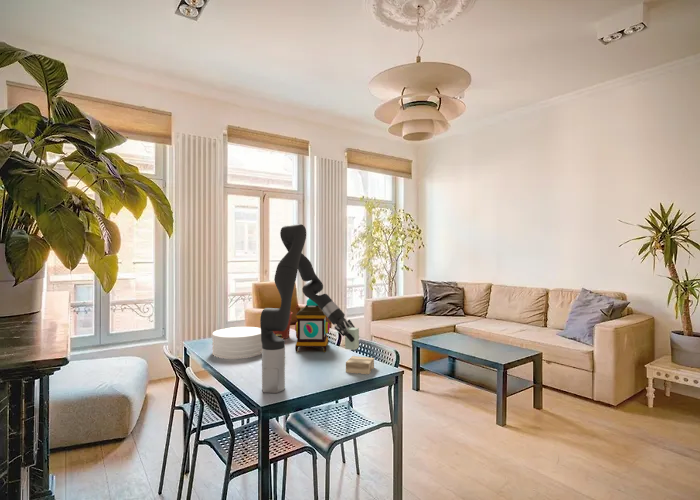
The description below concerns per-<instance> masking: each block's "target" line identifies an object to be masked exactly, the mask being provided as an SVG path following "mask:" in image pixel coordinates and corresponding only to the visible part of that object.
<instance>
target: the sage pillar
mask: <svg viewBox="0 0 700 500" xmlns="http://www.w3.org/2000/svg"><path fill="white" fill-rule="evenodd" d="M347 330H348V331H349V333H350V334H351V335H352V336H353V338H354V339H355V340H354V341H353V342H351V341H350V340H349V339H348V338H347V337H346V336H344V343H345V344H344V349H345V350H352V351H353V350H354V351H356V350H357V349H359V347H360V344H359V343H360V328H359V327H355V328H353V327H348V329H347Z"/></svg>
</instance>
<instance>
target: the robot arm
mask: <svg viewBox="0 0 700 500" xmlns="http://www.w3.org/2000/svg"><path fill="white" fill-rule="evenodd" d="M279 235H280V240H281V242H282V244H283V246H284V247H285V250H286V251H287V253H286V254H285V255H284V256H283V257H282V258H281V259H280V261H279V262H278V264H277V266H276V269H275V274H274V280H273V281H274V285H275V287H276V288H277V291H278V293H279V295H280V300H281V301H280V307H279V308H276V307H275V308H273V307H265V308H264V309H262V311H261V312H260V313H261V314H260V317H259V318H260V319H259V320H260V321H259V322H260V323H259V325H260V328H261V342H262V354H261V390H262V393H271V394H278V393H280V392H282V391H284V390H285V387H286V383H285V382H286V377H285V376H286V375H285V374H286V373H285V371H286V370H285V369H286V341H285V339H284V338H283V339H282V338H280V337H278V336H276V335H275V334H274V333H273V331H285V330H286V328H287V326H288V322H289V316H290V312H291V307H292V300H293V299H292V298H293V294H294V290H295V289H294V288H295V285H296V280H297V276H298V273H299V276H300V278H301V280H302V281H304V282H307V283H306V284H304V285H303V286H302V289H301V290H302V293H303V294H304V296H305V297H306V298H307V299H311V300H312V301H314V302H315V303H316V304H317V305H318V306H319V307H320V308H321V310H322V311H323V312H324V314H325V315H326V319H328V320H329V322H330V323H331V324H332V325H335V326H334V329H335V330H336V331H337V332H338V333H339V334H340V335H341V336H342V337H345V336H346V337H347V338H348V339H349V340H350V341H351V342H353V341H354V340H355V339H354V338H353V336H352V335H351V334H350V333H349V331H348V330H347V329H348V328H349V327H353V328H356V327H355V325H354V324H353V322H352V320H351V319H346V318H345V316H346V314H345V313H344V312H343V310H341V308H340V307H339V306H338V305H337V303H335V302H334V301H333V299H332V298H331V297H330V296H329V294H327V293H323V294H319V293H320V292H322V290H323V289H324V284H323V281H321V280H320V278H319V277H318V275H317V274H316V272H315V270H314V267H313V264H312V263H311V261H310V260H309V258H308V257H307V256H306V255H304V253H303V249H304V247H305V243H306V239H307V230H306V227H305V225H304V224H300V223H297V224H289V225H284V226H283V225H282V227H281V228H280V232H279ZM318 294H319V295H318Z"/></svg>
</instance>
